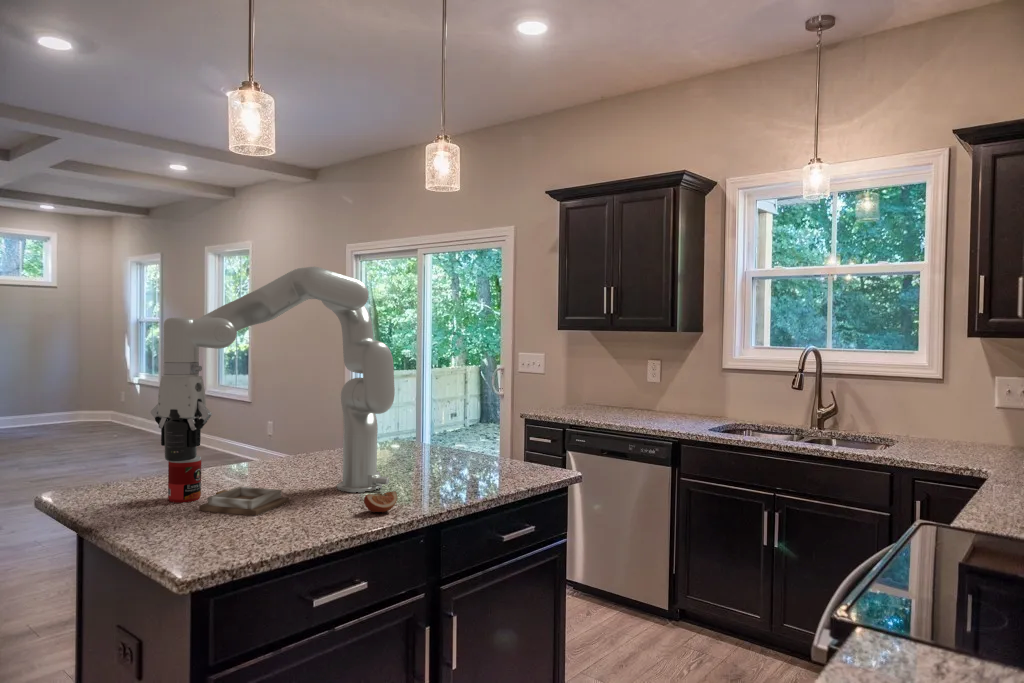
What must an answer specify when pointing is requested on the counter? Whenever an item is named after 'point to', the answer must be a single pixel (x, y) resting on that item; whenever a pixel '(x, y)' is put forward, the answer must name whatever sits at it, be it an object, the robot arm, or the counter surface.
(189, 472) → the canned food
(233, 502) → the pocket board
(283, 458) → the counter surface
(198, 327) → the robot arm
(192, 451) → the supplement bottle
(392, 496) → the fruit slice
